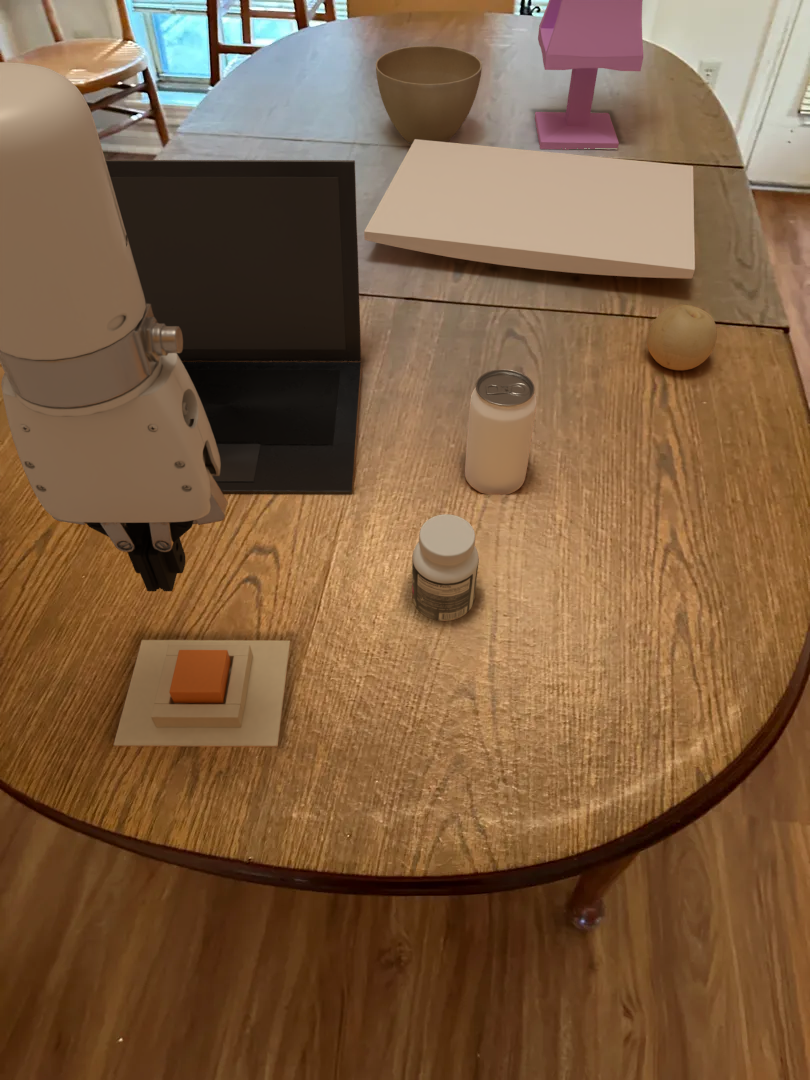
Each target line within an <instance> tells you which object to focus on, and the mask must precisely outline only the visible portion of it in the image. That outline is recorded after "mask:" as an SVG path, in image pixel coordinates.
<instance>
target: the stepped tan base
mask: <svg viewBox="0 0 810 1080" xmlns="http://www.w3.org/2000/svg"><path fill="white" fill-rule="evenodd" d="M140 641H141V642H140V645H139V649H138V652H137V657H136V660H135V663H134V668H133V672H132V675H131V679H130V682H129V686H128V690H127V693H126V697H125V701H124V704H123V707H122V712H121V715H120V719H119V723H118V727H117V730H116V734H115V738H114V742H113V746H114V747H173V748H174V747H177V748H178V747H185V748H189V747H191V748H192V747H194V748H195V747H196V748H197V747H199V748H201V747H202V748H203V747H204V748H207V747H209V748H213V747H214V748H215V747H217V748H219V747H220V748H278V746H279V741H280V740H279V739H280V732H281V723H282V716H283V715H282V714H283V708H284V699H285V689H286V682H287V673H288V666H289V665H288V664H289V657H290V650H291V649H290V648H291V640H287V639H286V640H280V639H279V640H276V639H275V640H274V639H273V640H271V639H269V640H268V639H267V640H265V639H264V640H263V639H262V640H260V639H258V640H255V639H254V640H253V639H252V640H251V639H249V640H248V639H246V640H245V639H141V640H140ZM179 650H227V651H228V654H229V657H230V660H231V664H230V669H229V675H228V681H227V686H226V692H225V697H224V703H174V702H173V699H172V697H171V695H170V693H169V691H170V687H171V683H172V678H173V674H174V670H175V665H176V661H177V657H178V652H179Z"/></svg>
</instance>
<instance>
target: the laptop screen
mask: <svg viewBox="0 0 810 1080" xmlns="http://www.w3.org/2000/svg"><path fill="white" fill-rule="evenodd" d="M105 161H106V164H107V168H108V171H109V175H110V178H111V182H112V185H113V189H114V192H115V196H116V199H117V203H118V206H119V210H120V213H121V217H122V220H123V224H124V227H125V231H126V234H127V238H128V241H129V245H130V248H131V252H132V255H133V259H134V262H135V266H136V269H137V273H138V276H139V280H140V283H141V287H142V291H143V294H144V298H145V301H146V304H151V307H152V311H153V315H154V317H155V318H156V320H157V321H158V323H164V324H165V325H166V326H179V327H180V328H181V331H182V335H183V350H182V352H181V353H177V355H178V356H179V358H180V360H181V361H182V362H362V340H361V339H362V338H361V335H362V334H361V310H360V308H361V307H360V304H361V303H360V276H359V275H360V274H359V247H358V246H359V243H358V213H357V211H358V209H357V183H356V182H357V181H356V180H357V179H356V160H353V159H351V160H349V159H348V160H347V159H346V160H343V159H341V160H340V159H338V160H337V159H336V160H334V159H333V160H332V159H331V160H329V159H323V160H322V159H318V160H317V159H314V160H312V159H299V160H298V159H261V160H260V159H249V160H248V159H105Z"/></svg>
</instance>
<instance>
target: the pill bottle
mask: <svg viewBox="0 0 810 1080" xmlns="http://www.w3.org/2000/svg"><path fill="white" fill-rule="evenodd" d="M418 534H419V535H418V542H417V543H416V544H415V547H414V549H413V550H412V551H413V552H412V560H411V566H412V570H411V576H412V577H411V597H412V599H411V600H412V603H413V605H414V607H415V608H416V610H417V611H418V612H419V613H420V614H422V615H423V616H425V617H426V618H428V619H430V620H434V621H437V622H450V621H455V620H458V619H460V618H462V617H464V616H465V615H467V614H468V613H469V611H470V610H471V609H472V607H473V606H474V603H475V597H476V588H477V580H478V579H477V578H478V572H479V571H478V570H479V564H480V563H479V562H480V557H479V556H480V555H479V552H478V551H479V550H478V548H477V547H476V543H475V542H476V532H475V529H474V527H473V526H472V525H471V523H470V522H469V521H468V520H467V519H465V518H463V517H462V516H460V515H459V516H458V515H455V514H448V513H446V514H445V513H444V514H438V515H434V516H432V517H430V518H429V519H427V520H426V521H425V522H424V523H423V524H422V525H421V528H420V529H419V533H418Z"/></svg>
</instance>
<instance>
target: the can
mask: <svg viewBox="0 0 810 1080" xmlns="http://www.w3.org/2000/svg"><path fill="white" fill-rule="evenodd" d="M469 402H470V403H469V411H468V423H467V436H466V450H465V463H464V464H465V465H464V477H465V480H466V482H467V483H468V485H469V486H470V487H471V488H473V489H474V490H475V491H476V492H478V493H480V494H483V495H486V496H488V495H491V496H493V495H494V496H495V495H497V496H498V495H500V496H502V495H503V496H504V495H510V494H513V493H515V492H516V491H518V490H519V489H520V488H521V487H522V486H523V485H524V483H525V481H526V478H527V477H526V476H527V471H528V469H527V468H528V465H529V464H528V463H529V457H530V451H531V445H532V437H533V431H534V426H535V418H536V412H537V396H536V393H535V384H534V383H533V380H531V378H530V377H528V375H526V374H524V373H522V372H520V371H517V370H513V369H508V368H500V369H499V368H498V369H492V370H489V371H486V372H484V373H483V374H481V375H480V376H479V377H478V379H477V380H476V382H475V387H474V389H473V390H472V392H471V395H470V400H469Z"/></svg>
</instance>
